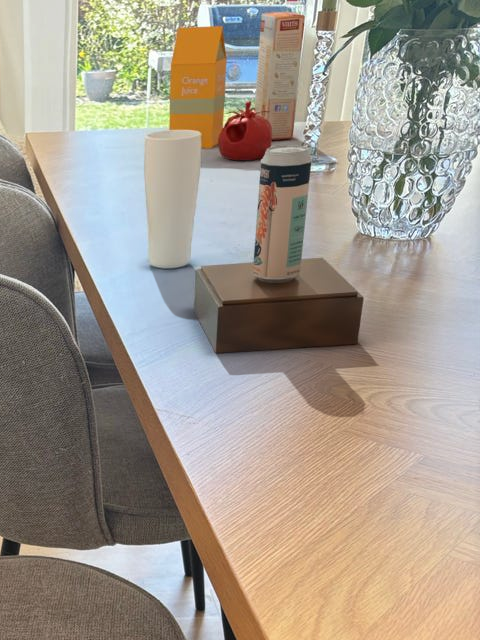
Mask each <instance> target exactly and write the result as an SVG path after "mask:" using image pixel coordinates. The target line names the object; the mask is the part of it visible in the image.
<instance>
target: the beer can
mask: <svg viewBox="0 0 480 640" xmlns="http://www.w3.org/2000/svg"><path fill="white" fill-rule="evenodd" d="M312 161H313V158H312V155H311V152H310V150H309V147H308V146H304V145H296V144H295V145H292V144H291V145H290V144H287V145H275V146H271V148H268V149H267V150H266V152H265V155H264V157H262V158H260V170H259V184H258V195H257V197H258V199H257V210H256V224H255V236H254V237H255V238H254V249H253V250H254V251H253V261H252V262H253V273H252V274H253V275H254V276H255V277H257V278H258V279H259V280H260V281H263V282H269V283H282V282H288V281H291V280H293V279H294V278H296V277H297V276H299V275H300V269H301V259H303V247H304V240H305V239H304V237H305V228H306V219H307V218H306V217H307V210H308V209H307V208H308V199H309V188H310V178H311V171H312V169H311V168H312Z"/></svg>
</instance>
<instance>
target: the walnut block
mask: <svg viewBox="0 0 480 640" xmlns="http://www.w3.org/2000/svg"><path fill="white" fill-rule="evenodd" d="M253 262H254V261H251V262H239V263H237V262H236V263H224V264H211V265H210V264H209V265H201V266H200V268H195V274H194V275H195V276H194V278H195V279H194V294H193V295H194V298H193V312H194V314H195V316H196V318H197V320H198V322H199V324H200V325H201V328H202V329H203V331H204V333H205V335H206V337H207V340H208V341H209V343H210V345H211V347H212V348H213V350H214V352H215V354H224V353H238V352H254V351H255V352H256V351H269V350H284V349H285V350H286V349H287V350H288V349H300V348H301V349H302V348H318V347H329V346H330V347H333V346H345V345H347V346H348V345H358V341H359V336H360V335H359V333H360V327H361V322H362V321H361V320H362V314H363V313H362V312H363V305H364V296H363V295H362V294H361V293H360V292H359V291H358V290H357V289H356V288H355V287H354V286H353V285H352V284H350V283H349V281H348V280H347V279H346V278H345V277H344V276H343V275H341V273H339V272H338V271H337V270H336V268H334V267H333V266H332V265H331V264H330V263H329V262H328V261H327V260H326V259H325V258H323V257H313V258H311V257H310V258H302V259H301V269H300V275H299V276H297V277H296V278H294V279H293V280H291V281H288V282H282V283H269V282H263V281H260V280H259V279H258V278H257V277H255V276H254V275H253V274H252V273H253Z"/></svg>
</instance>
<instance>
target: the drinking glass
mask: <svg viewBox="0 0 480 640" xmlns="http://www.w3.org/2000/svg"><path fill="white" fill-rule="evenodd" d="M143 155H144V156H143V157H144V158H143V167H144V168H143V176H144V177H143V178H144V194H145V208H146V209H145V210H146V228H147V243H148V244H147V245H148V250H147V251H148V252H147V253H148V255H147V258H148V263H149V265H150V266H152V267H154V268H158V269H165V270H166V269H170V270H171V269H178V268H182V267H185V266H187V265H188V264H189V263H190V262H191V258H192V244H193V243H192V242H193V233H194V226H195V216H196V210H197V209H196V208H197V200H198V193H199V185H200V175H201V166H202V165H201V164H202V148H201V133H200V132H198V131H193V130H169V129H168V130H159V131H154V132H151V133H147V134H146V135H145V138H144V153H143Z"/></svg>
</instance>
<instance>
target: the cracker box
mask: <svg viewBox="0 0 480 640" xmlns="http://www.w3.org/2000/svg"><path fill="white" fill-rule="evenodd" d="M305 22H306V15H305V14H300V13H297V12H292V11H275V12H265V13H261V19H260V33H259V45H258V46H259V47H258V60H257V71H256V82H255V94H254V95H255V96H254V97H255V98H254V107H253V108H255V110H254V109H253V112H260V111H270V112H268V113H267V112H261V113H258V114H256V115H259V116H262V117H264V118H265V119H266V120H268V121H269V122H270V124H271V127H272V141H280V140H292V139H293V138H294V129H295V120H296V109H297V99H298V89H299V82H300V81H299V80H300V71H301V61H302V50H303V41H304V31H305V24H306V23H305Z"/></svg>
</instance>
